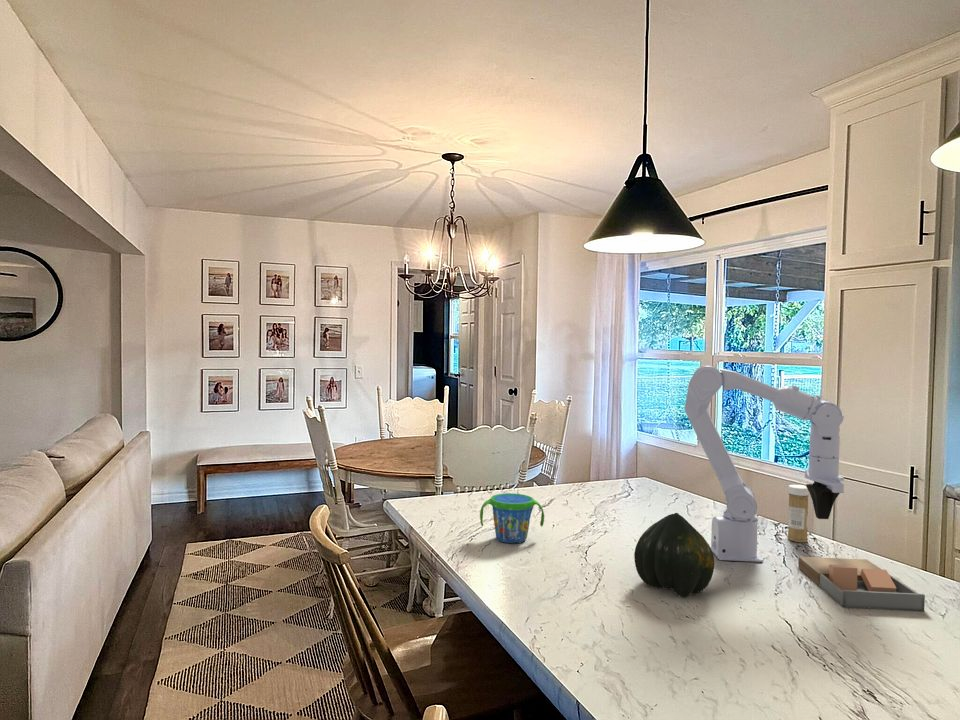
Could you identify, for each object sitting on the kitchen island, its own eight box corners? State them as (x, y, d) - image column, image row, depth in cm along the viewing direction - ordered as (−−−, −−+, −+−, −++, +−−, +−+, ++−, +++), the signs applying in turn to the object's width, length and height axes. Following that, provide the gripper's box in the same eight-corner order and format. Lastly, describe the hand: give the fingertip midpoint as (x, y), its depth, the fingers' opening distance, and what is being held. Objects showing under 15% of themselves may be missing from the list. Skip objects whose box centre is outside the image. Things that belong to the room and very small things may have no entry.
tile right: (869, 592, 122) (871, 586, 121) (860, 574, 126) (862, 568, 125) (894, 594, 122) (896, 588, 121) (884, 575, 125) (886, 569, 125)
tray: (843, 607, 116) (843, 591, 116) (819, 586, 126) (819, 571, 126) (924, 611, 115) (924, 594, 115) (893, 589, 125) (894, 574, 125)
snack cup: (543, 534, 158) (543, 493, 158) (544, 547, 148) (545, 504, 147) (480, 532, 159) (481, 492, 159) (478, 545, 149) (478, 502, 148)
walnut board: (818, 585, 127) (818, 573, 126) (798, 567, 136) (798, 556, 136) (892, 588, 125) (892, 576, 125) (866, 570, 135) (867, 559, 135)
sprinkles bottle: (811, 541, 155) (813, 486, 155) (801, 544, 152) (802, 488, 152) (793, 536, 159) (795, 483, 158) (783, 539, 156) (784, 485, 156)
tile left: (828, 586, 125) (832, 590, 123) (829, 564, 125) (833, 567, 123) (852, 588, 124) (856, 591, 123) (853, 565, 124) (857, 568, 123)
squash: (662, 581, 113) (702, 512, 118) (608, 559, 126) (646, 497, 131) (705, 623, 118) (742, 555, 123) (649, 597, 131) (684, 536, 136)
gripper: (860, 463, 130) (858, 528, 130) (828, 450, 144) (826, 510, 144) (824, 462, 130) (822, 527, 131) (795, 450, 145) (794, 508, 145)
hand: (822, 518), depth 138 cm, fingers closed
